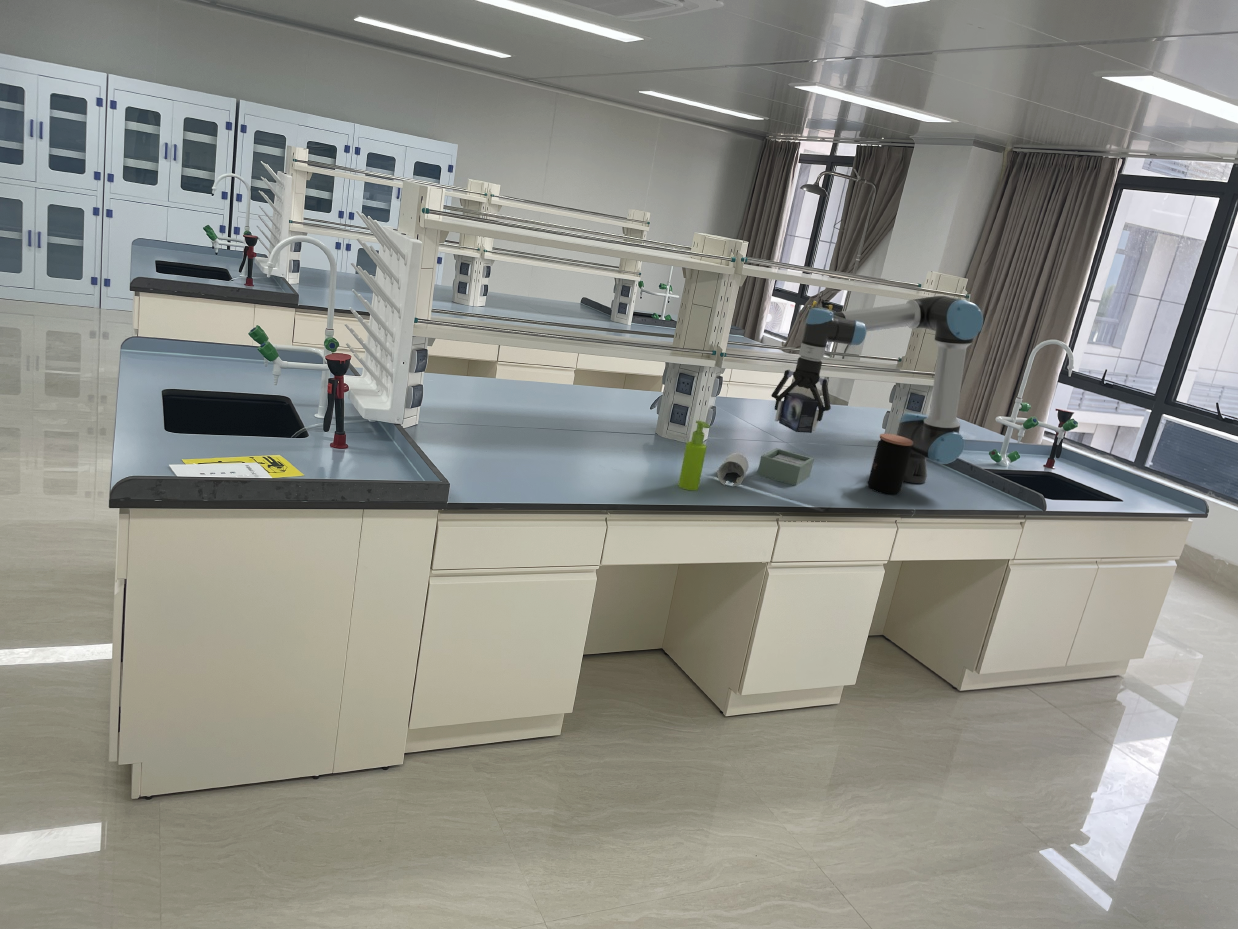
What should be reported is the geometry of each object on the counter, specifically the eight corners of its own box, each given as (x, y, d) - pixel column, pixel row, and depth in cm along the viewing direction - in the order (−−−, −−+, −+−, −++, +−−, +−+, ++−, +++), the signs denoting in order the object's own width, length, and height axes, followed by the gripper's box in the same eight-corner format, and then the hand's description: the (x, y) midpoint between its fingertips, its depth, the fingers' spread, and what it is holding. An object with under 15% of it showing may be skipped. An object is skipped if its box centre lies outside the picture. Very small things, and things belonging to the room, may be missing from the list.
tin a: (802, 475, 288) (806, 460, 286) (797, 479, 282) (800, 464, 281) (777, 468, 291) (780, 453, 290) (771, 471, 286) (774, 456, 284)
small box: (777, 422, 283) (783, 391, 280) (793, 423, 285) (800, 392, 282) (795, 432, 274) (802, 399, 271) (812, 433, 276) (819, 401, 273)
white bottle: (748, 475, 281) (753, 451, 278) (740, 489, 263) (746, 464, 261) (724, 469, 282) (729, 445, 280) (715, 483, 265) (720, 458, 262)
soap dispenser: (685, 491, 252) (698, 424, 246) (674, 483, 258) (687, 418, 252) (703, 492, 254) (716, 425, 249) (692, 484, 260) (705, 419, 255)
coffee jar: (874, 483, 297) (887, 432, 292) (904, 493, 291) (918, 441, 286) (861, 487, 289) (874, 435, 284) (891, 497, 283) (906, 444, 278)
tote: (809, 478, 288) (814, 458, 286) (795, 488, 274) (800, 467, 272) (772, 467, 294) (776, 448, 292) (756, 476, 280) (761, 455, 278)
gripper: (770, 350, 275) (756, 417, 281) (845, 368, 265) (828, 436, 271) (777, 349, 281) (763, 414, 287) (850, 366, 272) (834, 433, 277)
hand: (795, 425), depth 279 cm, fingers closed on small box, 11 cm apart
